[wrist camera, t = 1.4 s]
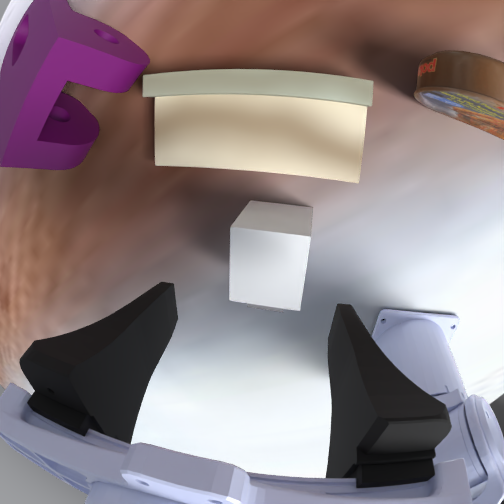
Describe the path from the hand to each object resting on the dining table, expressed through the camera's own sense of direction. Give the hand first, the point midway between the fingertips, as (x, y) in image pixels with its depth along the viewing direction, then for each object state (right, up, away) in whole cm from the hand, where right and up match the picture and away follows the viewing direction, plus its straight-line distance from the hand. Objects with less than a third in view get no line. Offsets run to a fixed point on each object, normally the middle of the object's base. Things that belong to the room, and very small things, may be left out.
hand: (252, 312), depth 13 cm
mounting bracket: (-16, +20, +7) cm, 26 cm away
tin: (+17, +13, +2) cm, 22 cm away
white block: (+2, +4, +10) cm, 11 cm away
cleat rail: (0, +11, +7) cm, 13 cm away
